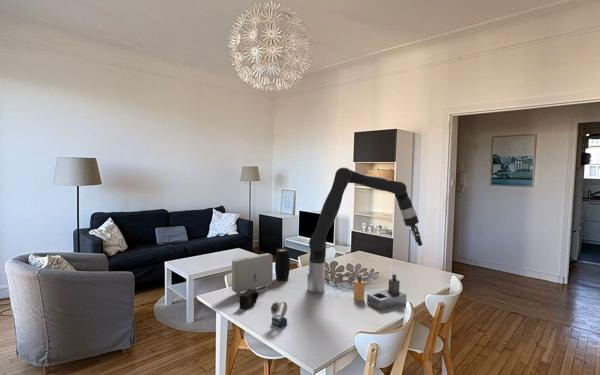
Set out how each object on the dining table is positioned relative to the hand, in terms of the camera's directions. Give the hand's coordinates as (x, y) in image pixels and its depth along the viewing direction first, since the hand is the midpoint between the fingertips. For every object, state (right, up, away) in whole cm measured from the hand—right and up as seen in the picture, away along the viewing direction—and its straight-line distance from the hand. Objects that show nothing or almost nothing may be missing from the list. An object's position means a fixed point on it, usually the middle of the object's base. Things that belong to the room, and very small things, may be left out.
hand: (419, 243), depth 182 cm
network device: (-94, -29, +10) cm, 99 cm away
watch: (-76, -32, -31) cm, 88 cm away
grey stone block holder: (-19, -31, -4) cm, 37 cm away
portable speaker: (-78, -28, +31) cm, 88 cm away
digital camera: (-93, -31, -11) cm, 98 cm away
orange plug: (-33, -31, 0) cm, 45 cm away
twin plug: (-15, -29, -2) cm, 33 cm away
